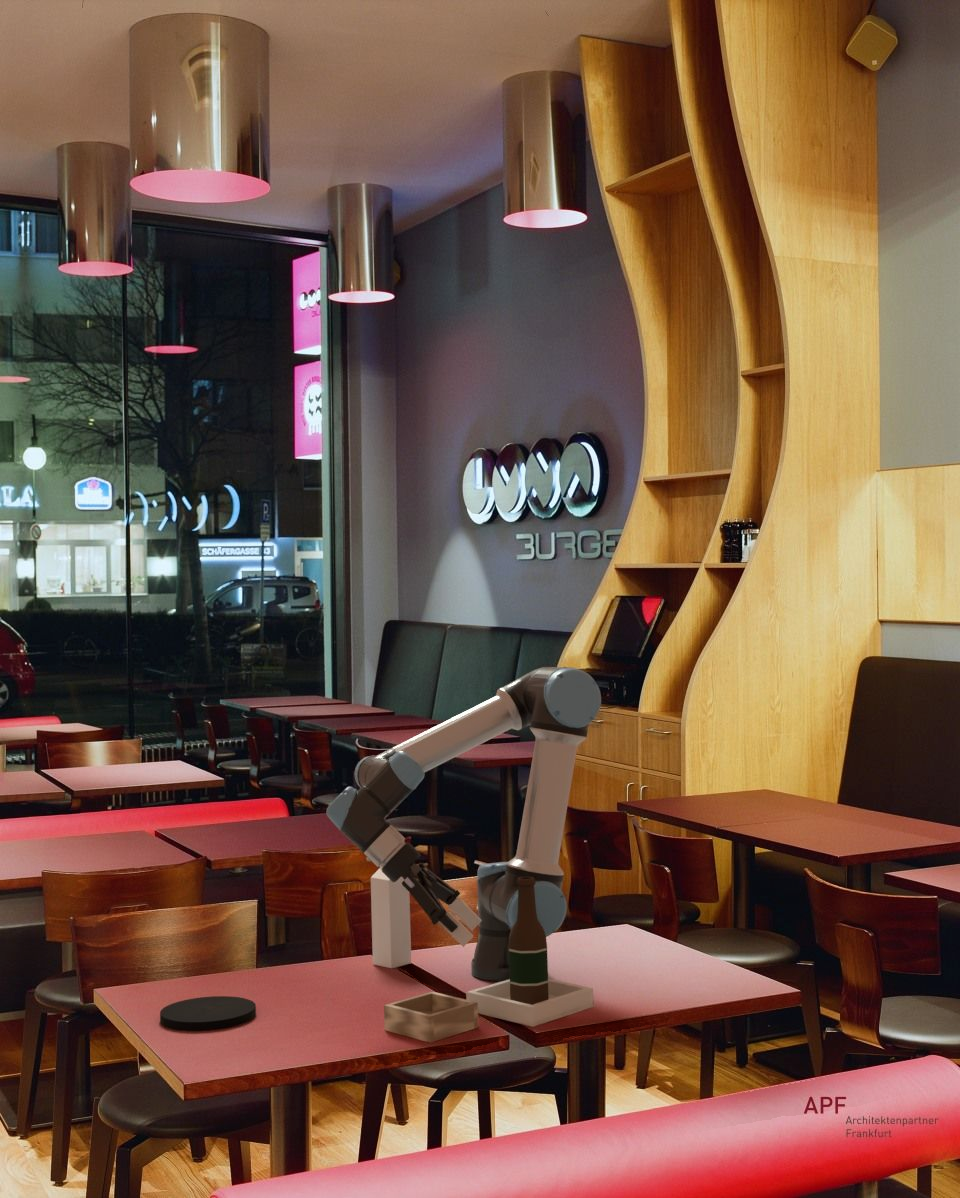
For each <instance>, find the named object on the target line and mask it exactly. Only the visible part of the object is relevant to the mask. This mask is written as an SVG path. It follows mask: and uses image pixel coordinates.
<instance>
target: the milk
mask: <svg viewBox="0 0 960 1198" xmlns="http://www.w3.org/2000/svg"><path fill="white" fill-rule="evenodd" d="M382 868H383V867H382V866H380V867H378V869H377V870H376V872H374V873H373V874H372V875H371V877H370V896H371V897H370V898H371V900H370V903H371V904H370V905H371V911H370V912H371V938H372V941H371V942H372V943H371V944H372V945H371V946H372V947H371V948H372V965H373V966H379V967H384V968H387V969H395V968H399V967H402V966H406V965H409V964H412V945H411V944H412V941H411V937H412V936H411V935H412V934H411V909H410V908H411V905H410V895H411V894H410V892H409V891H408V890H407V889H406V888H405V887H404V886H403V885H402V882H403V881H404V879H403V877H400V878H399V879H398V880H397V881H396V882H392V881H391V880H390V879H389V878H388V877H387V876H386V875H385V874H384V873H383V872H382Z"/></svg>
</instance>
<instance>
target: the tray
mask: <svg viewBox="0 0 960 1198" xmlns="http://www.w3.org/2000/svg"><path fill="white" fill-rule="evenodd" d="M465 994H466V995H465V997H466V998H465V1000H470V1001H474V1002H478V1015H484V1016H488V1017H491V1018H497V1019H501V1020H504V1021H507V1022H512V1023H516V1024H520V1025H523V1026H528V1027H532V1028H534V1027H538V1026H540V1025H543V1024H547V1023H548V1022H552V1021H555V1020H559V1019H561V1018H564V1017H568V1016H570V1015H573V1014H575V1013H579V1012H582V1011H585V1010H588V1009H592V1008H593V1007H594V988H593V987H588V986H586V985H585V986H584V985H579V984H574V983H570V982H565V981H561V980H556V979H552V978H548V1000H546V1001H543V1002H540V1003H536V1004H533V1005H530V1004H526V1003H522V1002H517V1001H513V1000H511V998H510V979H509V980H505V981H497V982H495V983H492V984H488V985H486V986H482V987H479V988H475V989H474V988H473V989H471V990H469V991H465Z"/></svg>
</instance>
